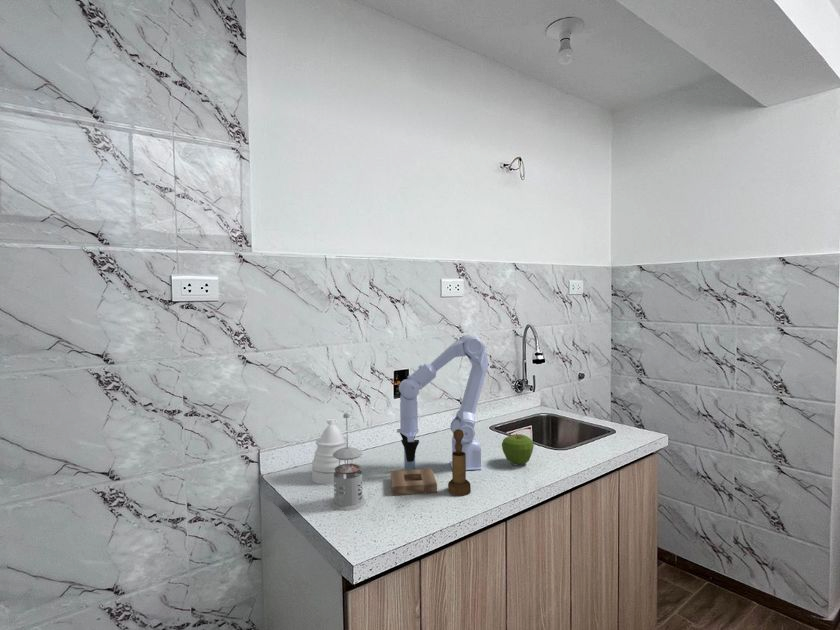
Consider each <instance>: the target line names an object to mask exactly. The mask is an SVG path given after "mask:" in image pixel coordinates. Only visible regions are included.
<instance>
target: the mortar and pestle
mask: <svg viewBox="0 0 840 630" xmlns="http://www.w3.org/2000/svg"><path fill="white" fill-rule="evenodd" d="M452 434H453V436H454V438H455V440H456V445H455V449H456V451H455V452H453V453H452V452H451V459H452V460H451V461H452V467H451V469H452V479H451V480H450V481H449V482H448V483H447V485H448V486H447V487H448V488H447V491H448V493H449V494H450V495H453V496H456V497H457V496H458V497H463V496H467V495H469V494H470V493H471V490H472V488H471V487H472V486H471V483H470V481H468V479H467V476H466V475H467V470H466V454H465V453H464V452H462V447H463V445H462V444H461V440H462V439H463V436H464V433H463V431H462V430H460V429H457V430H455V431H454V433H453V432H452ZM453 436H452V437H453Z"/></svg>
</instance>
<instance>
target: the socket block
mask: <svg viewBox="0 0 840 630" xmlns="http://www.w3.org/2000/svg"><path fill="white" fill-rule="evenodd" d="M390 485H391V495H392V496H404V495H405V496H406V495H418V494H419V495H421V494H437V493H438V483H437V480H436V478H435V474H434V472H433V469H432V468H425V469H423V468H422V469H415V470H405V469H403V470H402V469H401V470H391V471H390Z"/></svg>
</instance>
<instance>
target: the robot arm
mask: <svg viewBox="0 0 840 630" xmlns="http://www.w3.org/2000/svg"><path fill="white" fill-rule="evenodd" d="M465 356H466V357H467V359H468V360H469V362H470V363H471V368H470V372H469V375H468V378H467V382H466V386H465V390H464V393H463V396H462V399H461V404H460V408H459V409H458V411H457V412H456V413H455V417H454V419H453V420H452V421H451V422H450V430H451V432H452V434H453V433H454V431H455V430H457V429H460V430H462V431H463V433H464V436H463V439H462V440H461V444H462V445H463V447H462V452H464V453H465V454H466V471H475V470H476V471H477V470H482V469H483V467H482V449H481V447H482V446H481V443H480V440H479V439H475V435H476V430H475V424H476V416H475V415H476V410H477V406H478V403H479V400H480V395H481V393H482V389H483V385H484V382H485V378H486V374H487V372H488V371H487V370H488V368H489V360H488V355H487V353H486V345H485V344H484V342H483V341H482V339H480V338H479V337H478V336H471V335H470V334H465V335H464V334H463V335H462V336H460V338H459V339H457V340H455V341H454V342H453V343H452V344H450V345H449V346H448V347H447V348H446V349H445V350H444V351H443V352H441V354H440V355H438V356H437V357H436V358H435V359H434V360H433V361H432V362H431V363H424V364H423V365H422V364H420V365H419V366H418V367H417V368H418V369H417V370H415V371H414V372H413V373H412V374H411V375H410V374H409V375H408V376H407V377H406V379H403V380H402V381H401V382H400V383H399V386H398V391H399V394H400V397H399V398H400V399H399V400H400V402H399V404H400V405H399V412H400V413H399V415H400V416H399V417H400V421H399V422H400V428H397V429H396V433H398V434H399V435H400V436H401V444H402V446H403V450H404V449H405V453H406V459H407V462H413V461H414V458H415V459H416V452H417V448H418V446H419V444H420V439H416V436H417V435H418V433H419V428H418V427H419V422H418V417H419V416H418V395H419V393H420V390H422V389H423V388H425V387H427V385H428V384H429V383H431V382H432V381H433V380H434V379H435V378H436V377H437V372H438V371H439V370H441V369H442V368H443V367H444V366H446V365H447V364H448V363H450V361H452V360H453V359H455V358H457V357H465ZM455 445H456V440H455V438H454V436H452V437H451V454H452V453H453V452H455V451H456V449H455ZM449 465H450V466H451V468H452V460H451V461H449Z"/></svg>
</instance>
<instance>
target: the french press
mask: <svg viewBox="0 0 840 630" xmlns="http://www.w3.org/2000/svg"><path fill="white" fill-rule="evenodd" d="M350 417H351V414H350V413H349V412H346V413H344V414H343V416H342V418H344V419H345V420H346V421H345V422H346V429H345V430H348V418H350ZM348 436H349V435H348V433H346V438H347V442H346V444H347V447H345V448H341V449H339V450H337V451H336V452H334V453H333V457H335V458H336V459H339V466H337V467H336V468H335V471H336V472H335V473H334V482H335V483H336V484H333V496H334V497H333V500H332V501H331V503H330V507H331V508H332V509H333V510H336V511H340V512H348V511H354V510H359V509H361V508H362V507H364V506H365V505H366V504H367V500H366V498H365V497H364V496H363V471H362V470H361V469H362V467H361V465H360V464H357V463H353V464H351V463H349V464H348V460H357V459H358V458H360V457H361V456H362V455H363V451H362V450H360V449H358V448H357V447H352V446H349V445H348V444H349V443H348V442H349V441H348V440H349V439H348V438H349V437H348ZM340 460H345V464H342V465H340ZM346 460H347V464H346ZM343 474H346V479H344V475H343ZM356 474H360V475H356Z"/></svg>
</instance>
